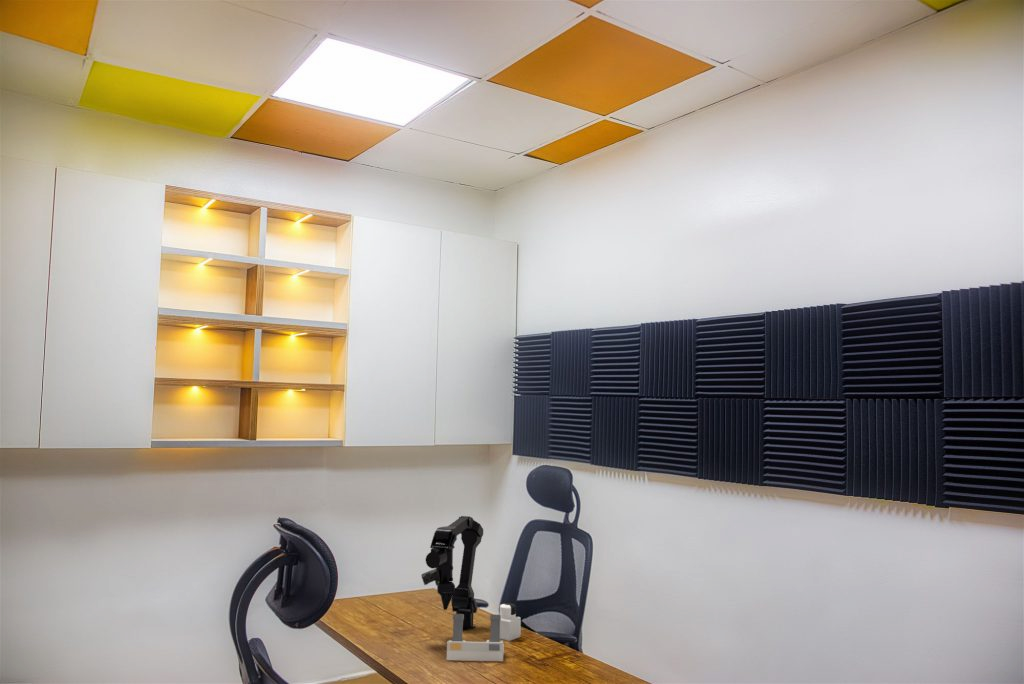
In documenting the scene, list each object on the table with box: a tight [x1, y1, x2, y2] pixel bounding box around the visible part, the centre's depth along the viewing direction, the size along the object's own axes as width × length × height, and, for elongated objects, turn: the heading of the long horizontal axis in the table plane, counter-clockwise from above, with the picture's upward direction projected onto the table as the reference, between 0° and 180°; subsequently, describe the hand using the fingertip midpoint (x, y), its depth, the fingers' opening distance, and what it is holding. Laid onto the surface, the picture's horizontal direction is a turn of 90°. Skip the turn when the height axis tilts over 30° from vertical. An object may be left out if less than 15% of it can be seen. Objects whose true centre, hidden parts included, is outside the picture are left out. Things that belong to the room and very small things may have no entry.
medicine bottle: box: [499, 602, 522, 642], centre depth 280 cm, size 7×7×12 cm
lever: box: [489, 614, 501, 642], centre depth 260 cm, size 2×4×10 cm, turn 89°
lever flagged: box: [452, 613, 464, 642], centre depth 260 cm, size 2×4×10 cm, turn 89°
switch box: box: [446, 639, 505, 662], centre depth 257 cm, size 9×19×6 cm, turn 89°
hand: (444, 606), depth 274 cm, fingers open, 9 cm apart
